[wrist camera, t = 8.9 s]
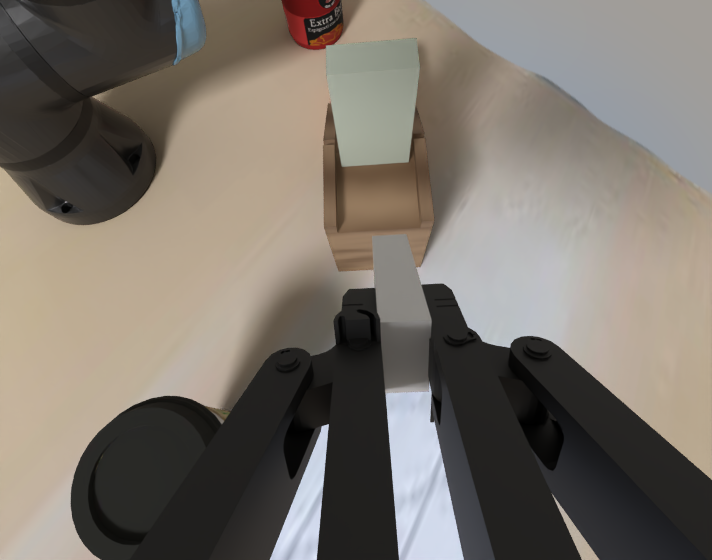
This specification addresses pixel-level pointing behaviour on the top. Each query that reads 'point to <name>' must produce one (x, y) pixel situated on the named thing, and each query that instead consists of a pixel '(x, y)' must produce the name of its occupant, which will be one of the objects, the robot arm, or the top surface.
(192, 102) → the top surface
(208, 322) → the top surface
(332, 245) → the launcher
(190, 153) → the top surface
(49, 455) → the top surface
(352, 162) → the pale green block
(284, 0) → the canned food
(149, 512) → the coffee cup
